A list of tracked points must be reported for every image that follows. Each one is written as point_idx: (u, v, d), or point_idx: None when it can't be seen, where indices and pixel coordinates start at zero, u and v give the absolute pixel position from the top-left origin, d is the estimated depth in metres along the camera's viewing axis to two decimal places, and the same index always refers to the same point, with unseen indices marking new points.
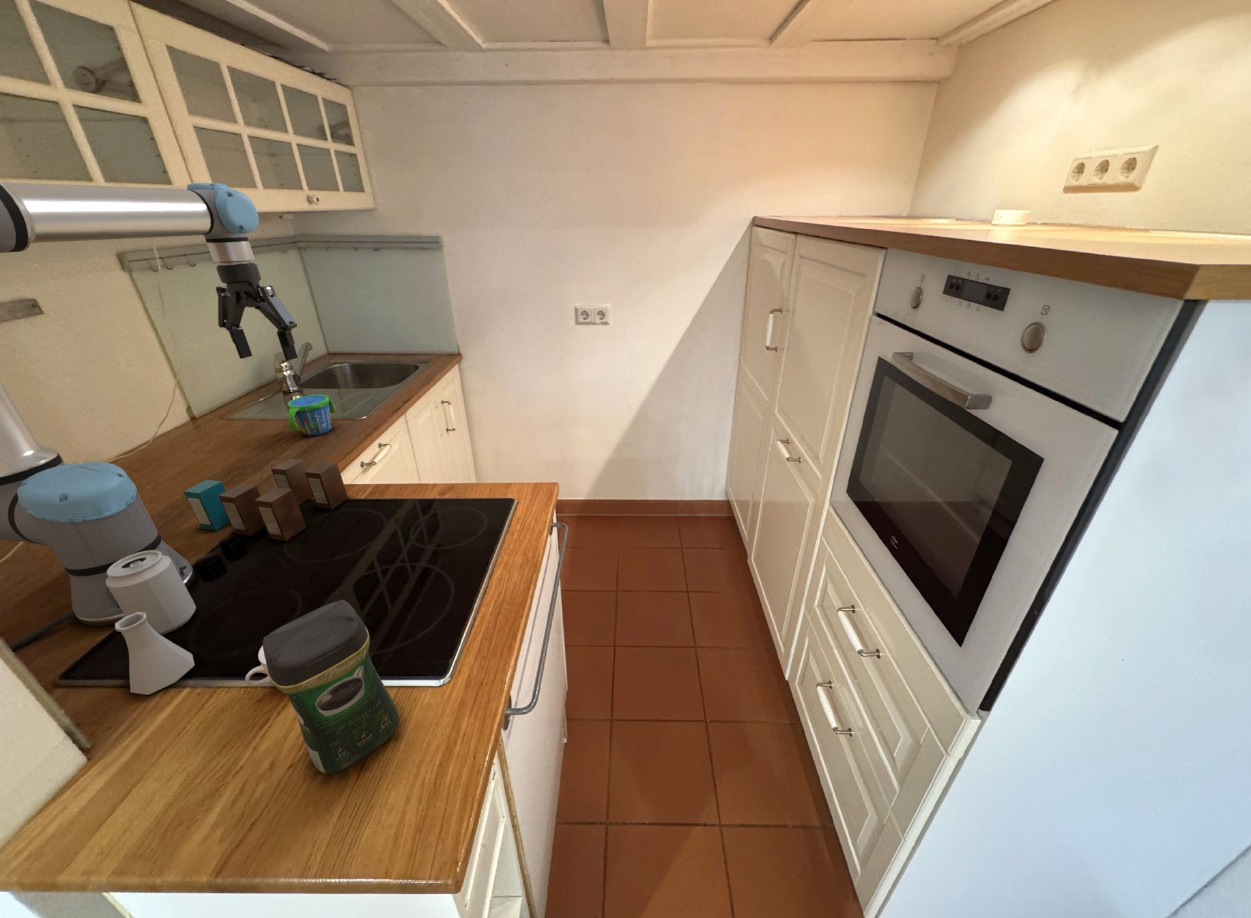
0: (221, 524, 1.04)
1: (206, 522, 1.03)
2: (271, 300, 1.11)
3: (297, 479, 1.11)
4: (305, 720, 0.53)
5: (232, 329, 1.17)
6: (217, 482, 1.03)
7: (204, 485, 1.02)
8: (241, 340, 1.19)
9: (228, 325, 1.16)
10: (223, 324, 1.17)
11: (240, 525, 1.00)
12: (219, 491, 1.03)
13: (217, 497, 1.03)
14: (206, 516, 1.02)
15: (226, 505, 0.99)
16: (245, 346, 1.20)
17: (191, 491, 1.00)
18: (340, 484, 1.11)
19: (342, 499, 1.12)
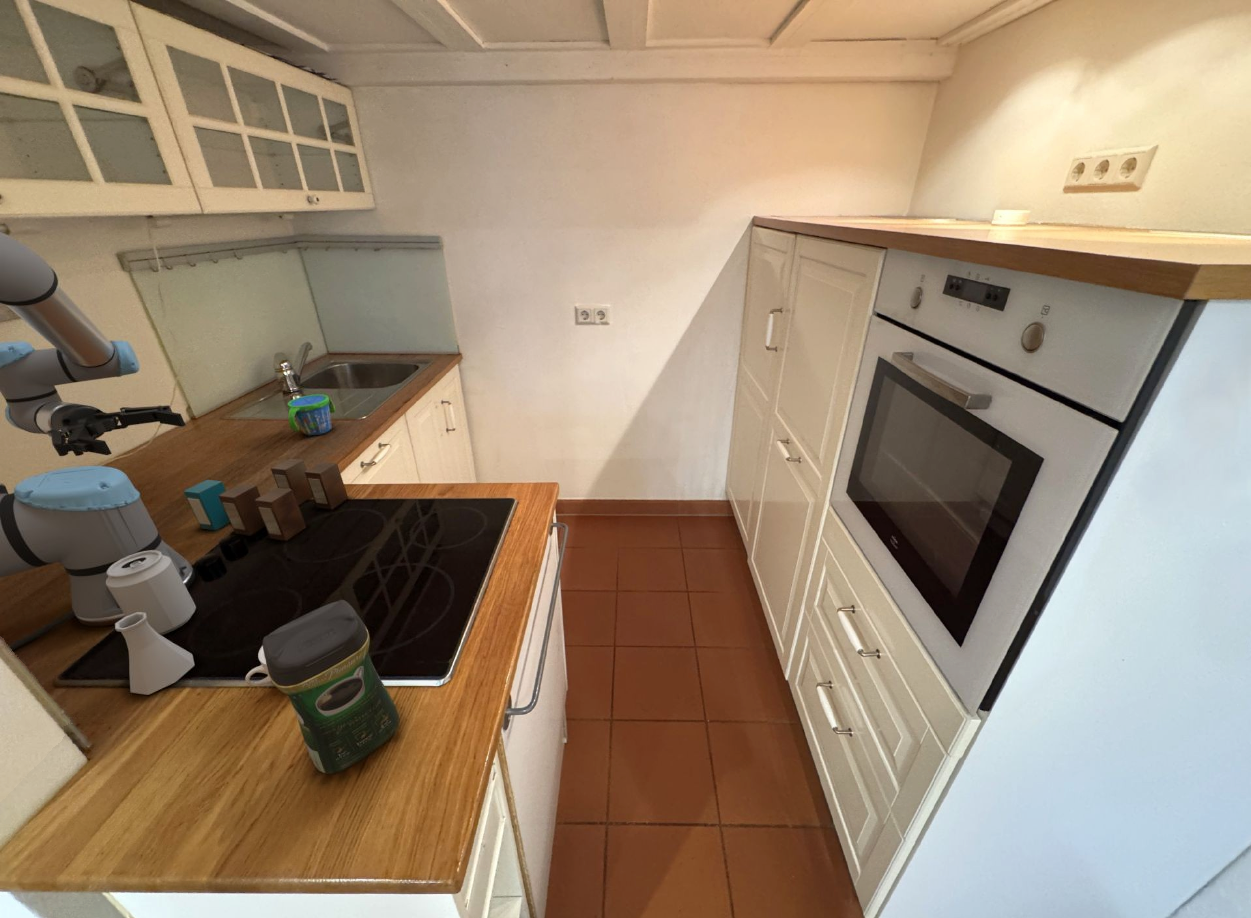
0: (221, 524, 1.04)
1: (206, 522, 1.03)
2: None
3: (297, 479, 1.11)
4: (305, 720, 0.53)
5: None
6: (217, 482, 1.03)
7: (204, 485, 1.02)
8: None
9: (72, 438, 0.95)
10: (61, 442, 0.94)
11: (240, 525, 1.00)
12: (219, 491, 1.03)
13: (217, 497, 1.03)
14: (206, 516, 1.02)
15: (226, 505, 0.99)
16: None
17: (191, 491, 1.00)
18: (340, 484, 1.11)
19: (342, 499, 1.12)
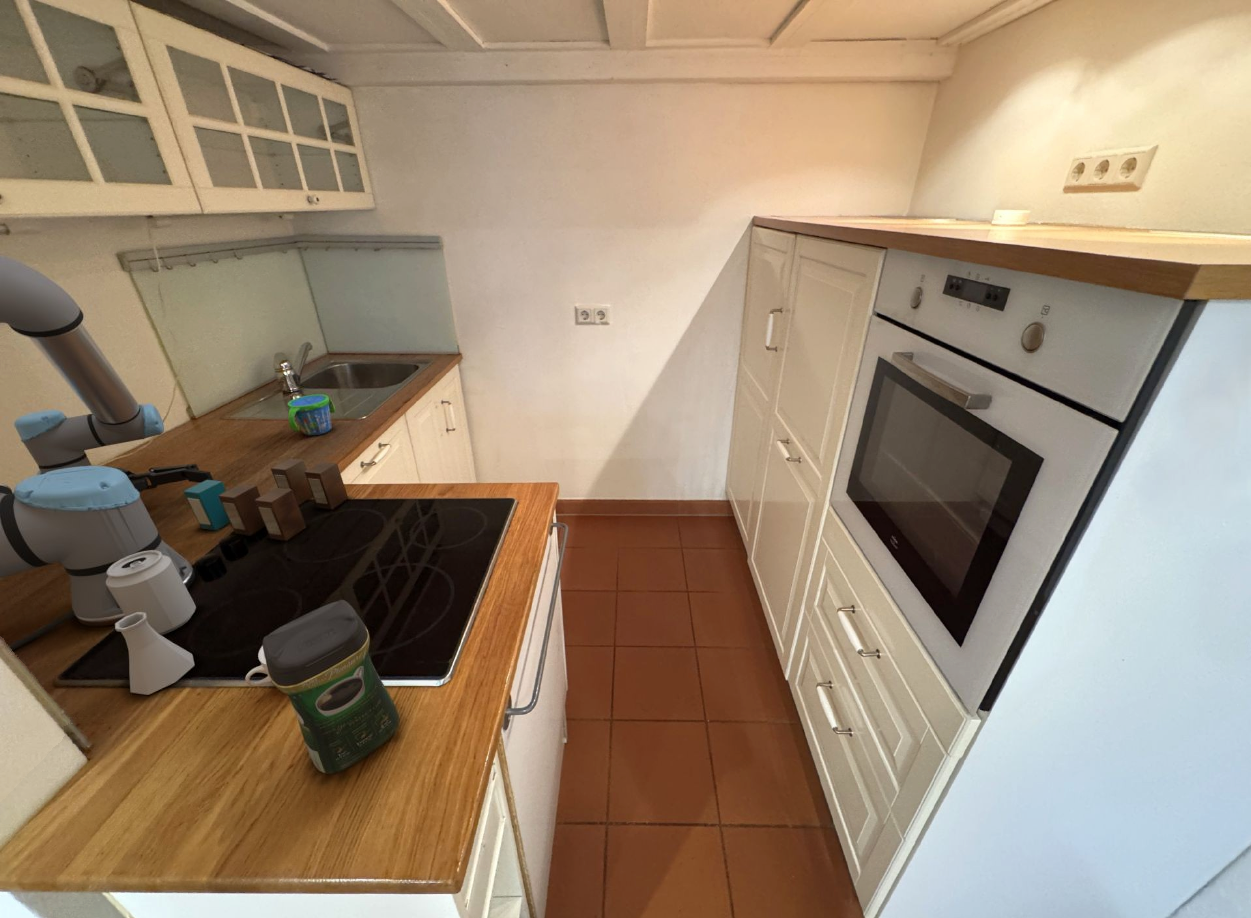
0: (221, 524, 1.04)
1: (206, 522, 1.03)
2: None
3: (297, 479, 1.11)
4: (305, 720, 0.53)
5: None
6: (217, 482, 1.03)
7: (204, 485, 1.02)
8: None
9: None
10: None
11: (240, 525, 1.00)
12: (219, 491, 1.03)
13: (217, 497, 1.03)
14: (206, 516, 1.02)
15: (226, 505, 0.99)
16: None
17: (191, 491, 1.00)
18: (340, 484, 1.11)
19: (342, 499, 1.12)
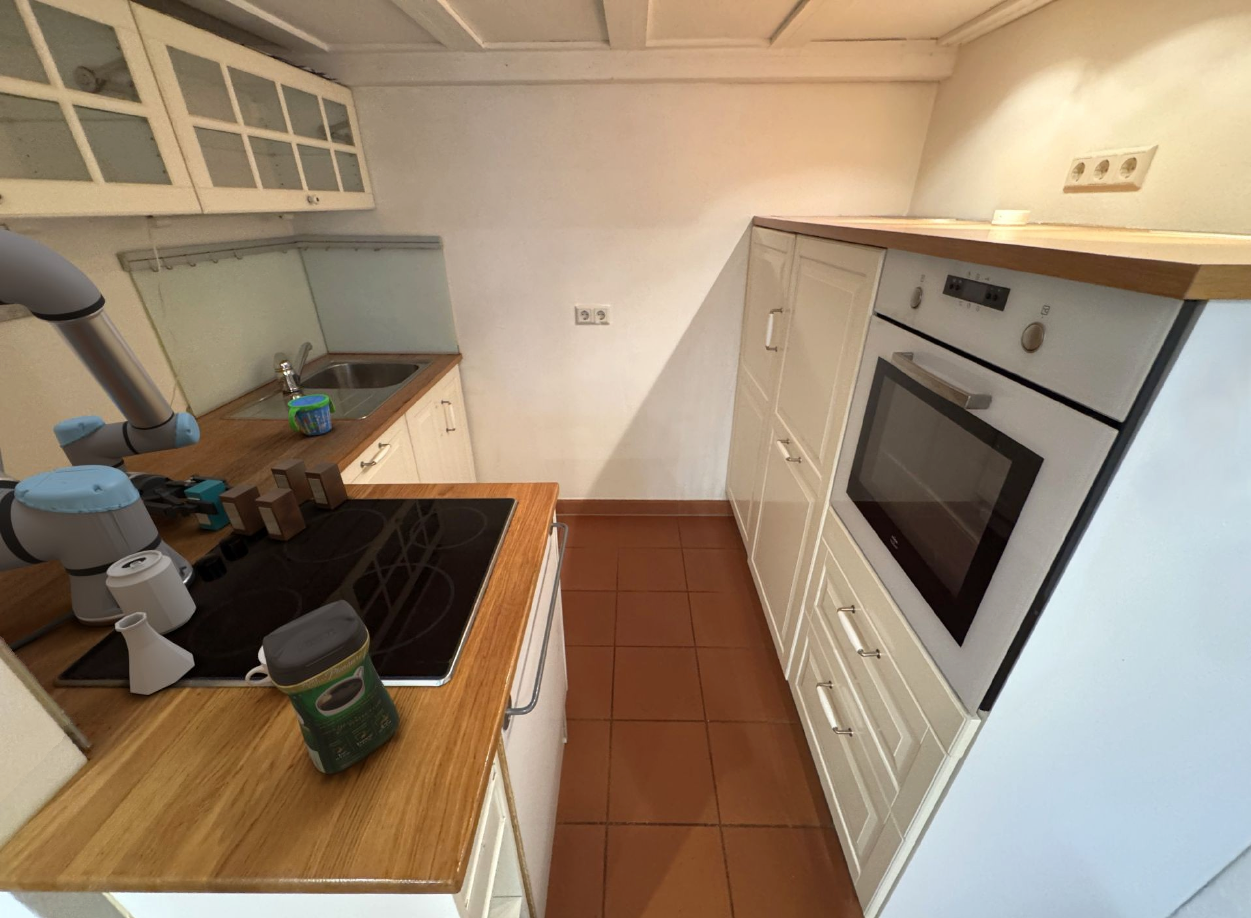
0: (221, 524, 1.04)
1: (206, 522, 1.03)
2: None
3: (297, 479, 1.11)
4: (305, 720, 0.53)
5: (185, 503, 1.00)
6: (218, 482, 1.03)
7: (205, 485, 1.02)
8: None
9: (178, 501, 1.00)
10: None
11: (240, 525, 1.00)
12: (219, 491, 1.03)
13: (217, 497, 1.03)
14: (206, 516, 1.02)
15: (226, 505, 0.99)
16: None
17: (192, 491, 1.00)
18: (340, 484, 1.11)
19: (342, 499, 1.12)
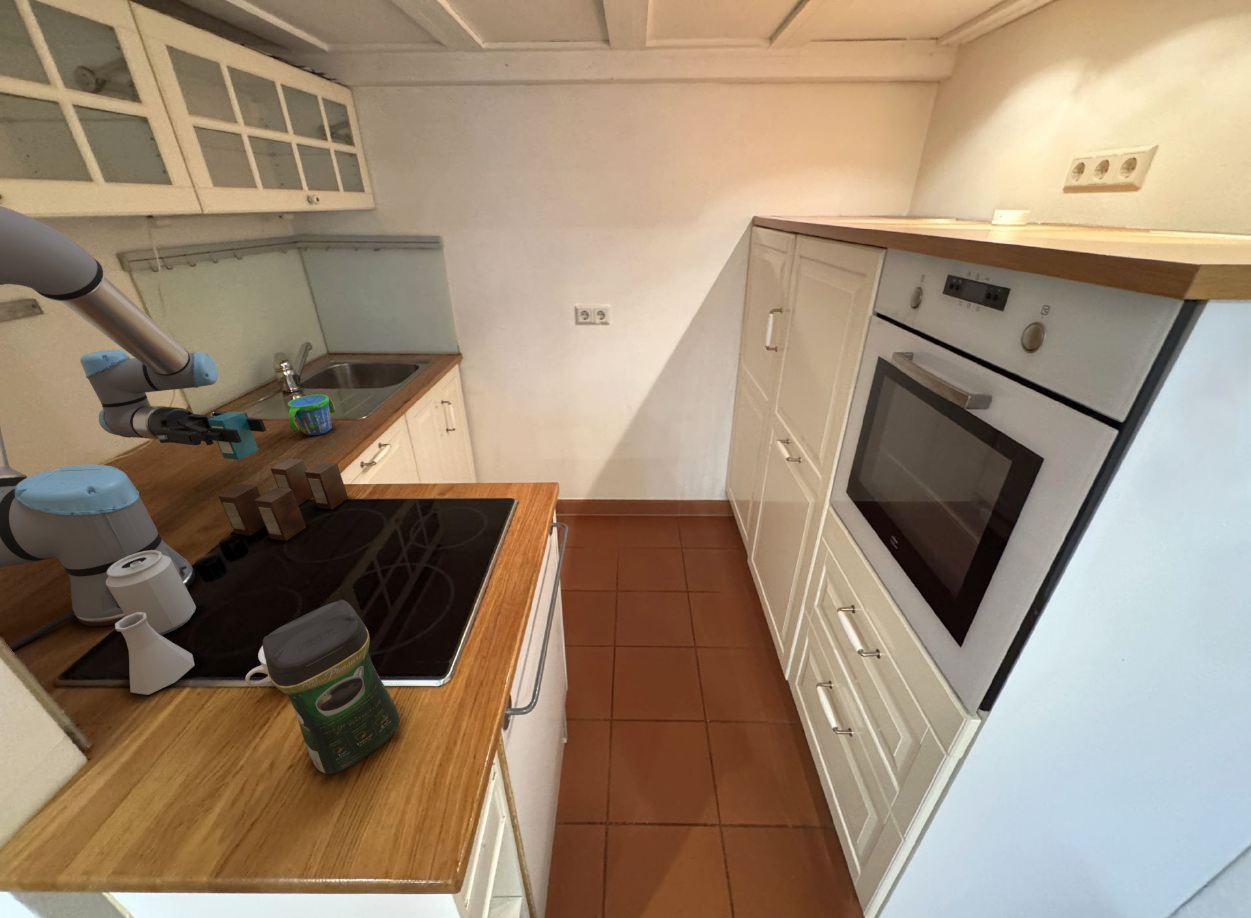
0: (243, 454, 1.08)
1: (229, 451, 1.06)
2: None
3: (297, 479, 1.11)
4: (305, 720, 0.53)
5: (209, 432, 1.04)
6: (240, 413, 1.07)
7: (227, 415, 1.06)
8: None
9: (202, 429, 1.04)
10: None
11: (240, 525, 1.00)
12: (241, 422, 1.07)
13: (240, 427, 1.06)
14: (229, 445, 1.05)
15: (226, 505, 0.99)
16: None
17: (215, 419, 1.03)
18: (340, 484, 1.11)
19: (342, 499, 1.12)
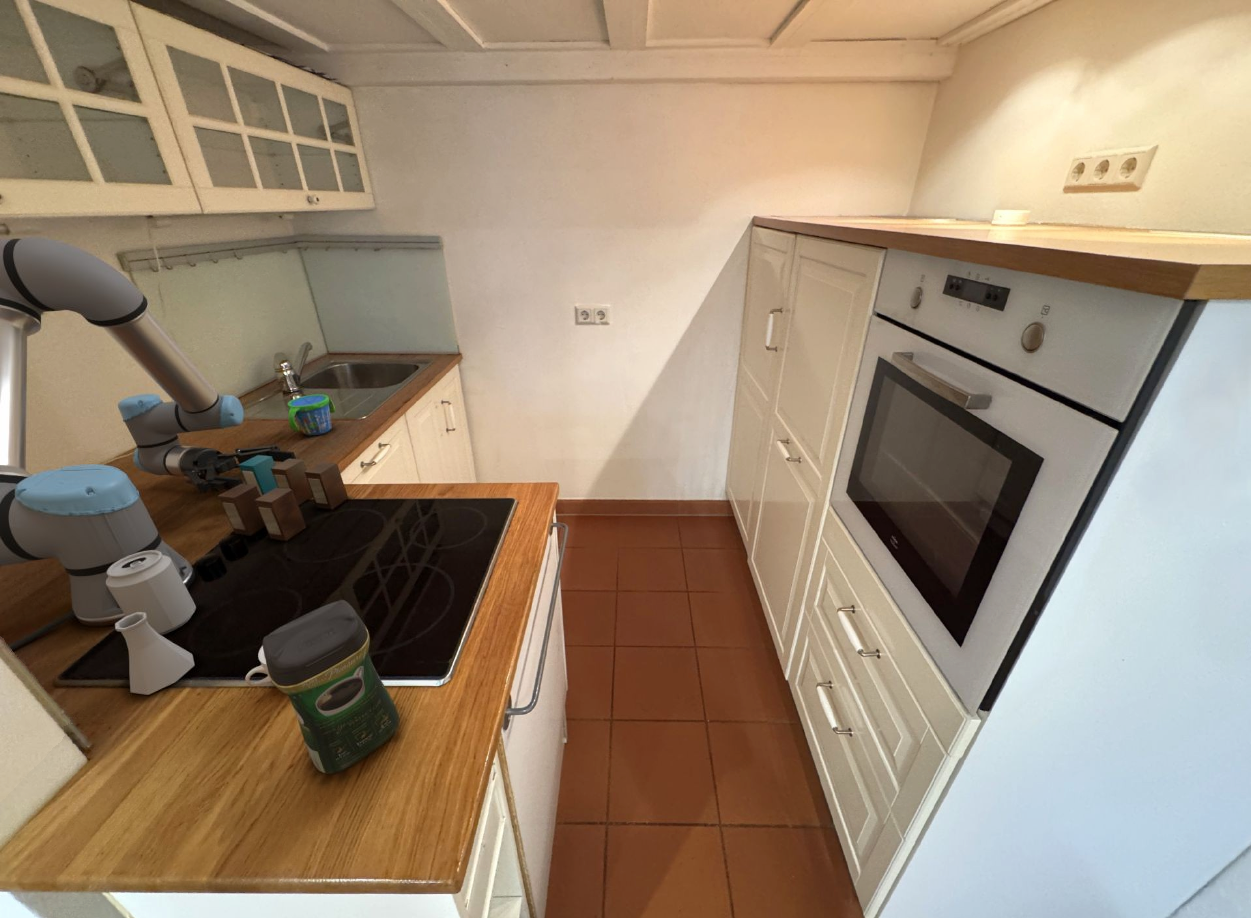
0: None
1: None
2: None
3: (297, 479, 1.11)
4: (305, 720, 0.53)
5: (214, 480, 1.08)
6: (268, 457, 1.14)
7: (256, 459, 1.13)
8: None
9: (209, 477, 1.08)
10: None
11: (240, 525, 1.00)
12: (269, 465, 1.14)
13: (268, 470, 1.14)
14: (258, 487, 1.12)
15: (226, 505, 0.99)
16: None
17: (246, 464, 1.11)
18: (340, 484, 1.11)
19: (342, 499, 1.12)
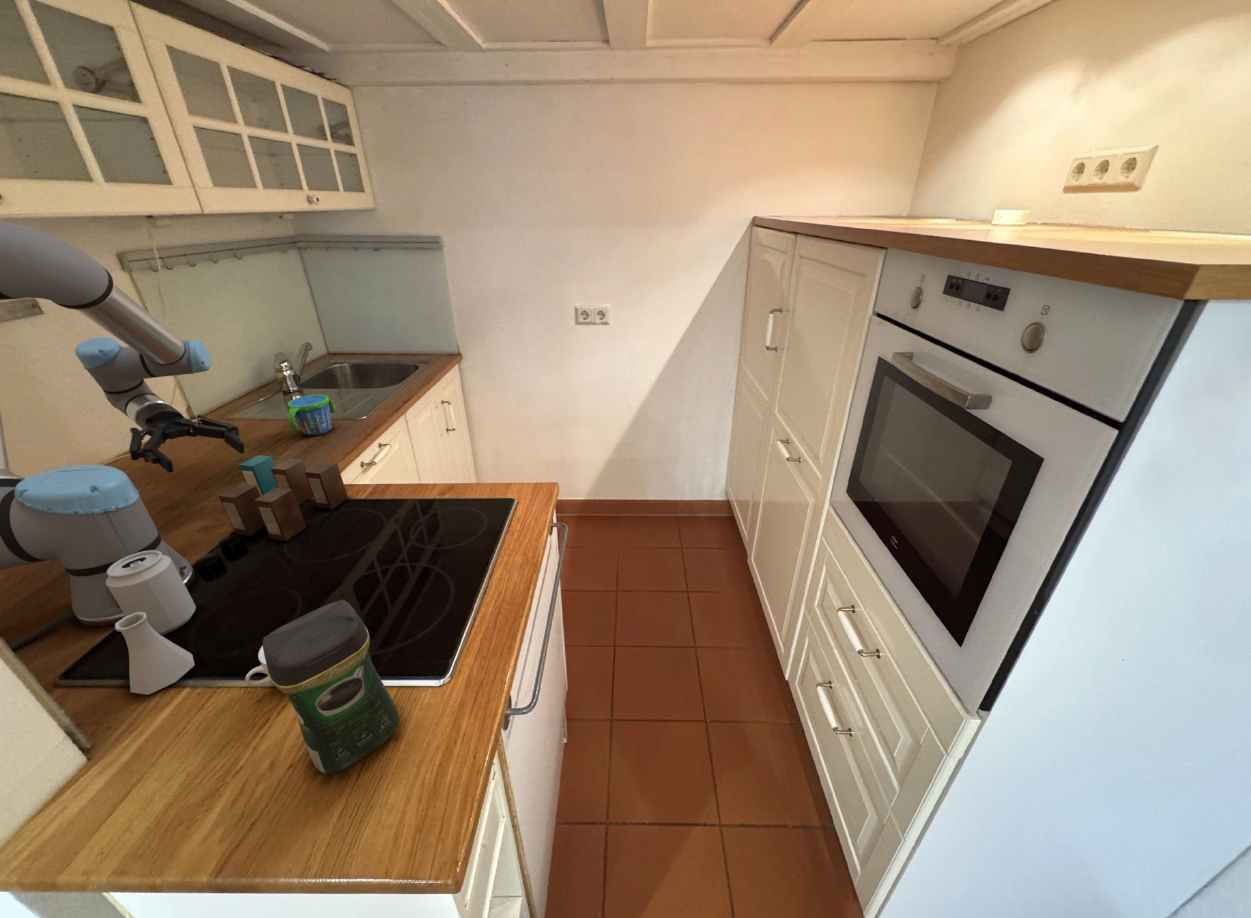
0: None
1: None
2: None
3: (297, 479, 1.11)
4: (305, 720, 0.53)
5: None
6: (268, 457, 1.14)
7: (256, 459, 1.13)
8: None
9: (147, 446, 1.06)
10: (137, 448, 1.05)
11: (240, 525, 1.00)
12: (269, 465, 1.14)
13: (268, 470, 1.14)
14: (258, 487, 1.12)
15: (226, 505, 0.99)
16: None
17: (246, 464, 1.11)
18: (340, 484, 1.11)
19: (342, 499, 1.12)
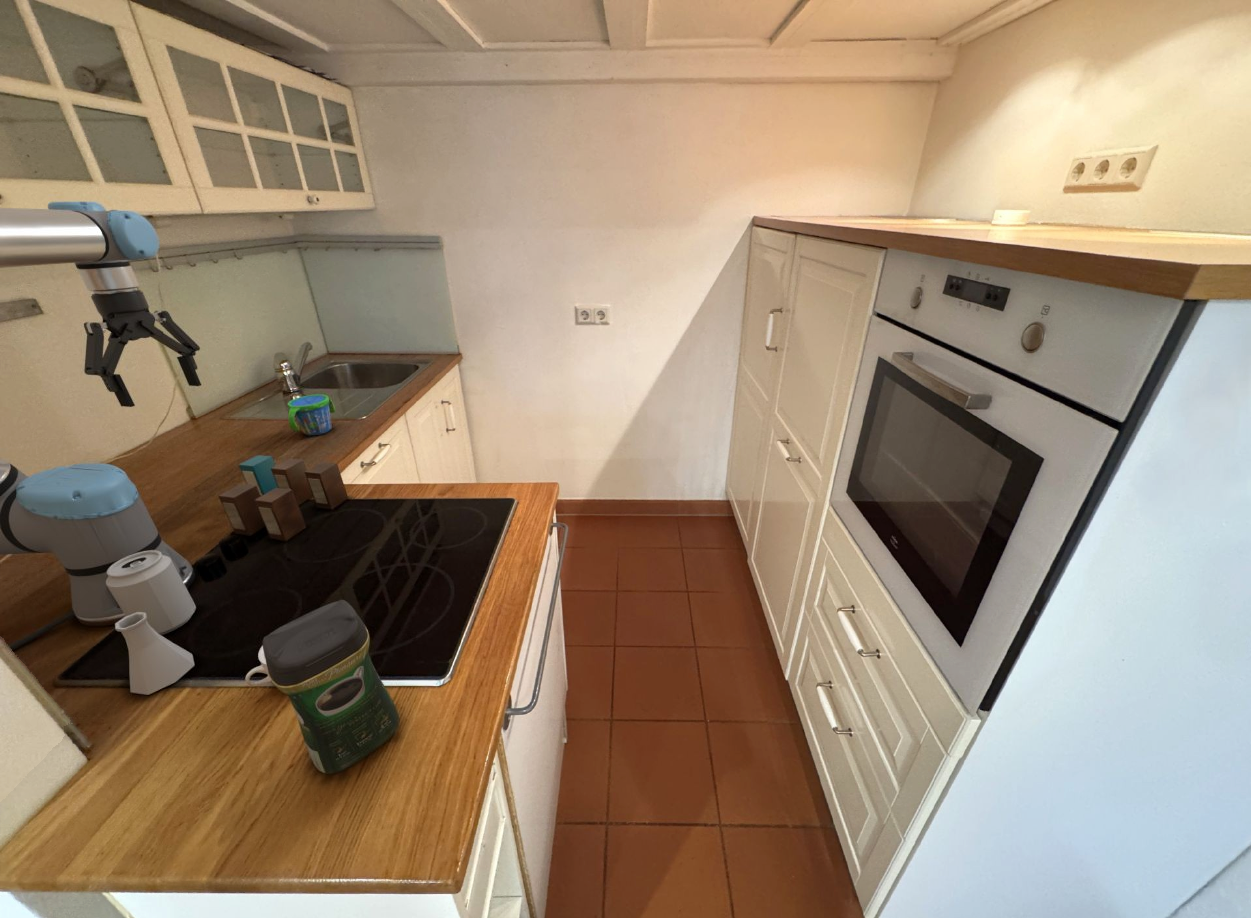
0: None
1: None
2: None
3: (297, 479, 1.11)
4: (305, 720, 0.53)
5: None
6: (268, 457, 1.14)
7: (256, 459, 1.13)
8: None
9: (112, 368, 0.96)
10: None
11: (240, 525, 1.00)
12: (269, 465, 1.14)
13: (268, 470, 1.14)
14: (258, 487, 1.12)
15: (226, 505, 0.99)
16: None
17: (246, 464, 1.11)
18: (340, 484, 1.11)
19: (342, 499, 1.12)
